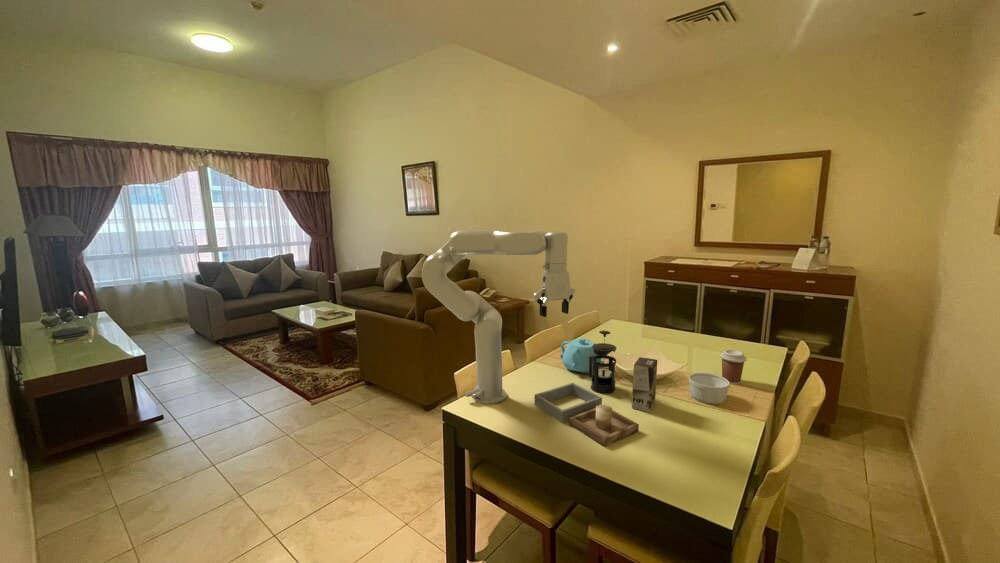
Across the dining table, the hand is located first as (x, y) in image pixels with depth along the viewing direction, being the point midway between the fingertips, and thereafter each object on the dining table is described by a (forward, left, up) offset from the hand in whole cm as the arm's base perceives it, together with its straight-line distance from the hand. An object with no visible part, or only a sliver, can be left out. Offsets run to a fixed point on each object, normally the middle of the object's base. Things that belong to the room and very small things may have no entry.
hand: (554, 314), depth 145 cm
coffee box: (+22, -22, -32) cm, 45 cm away
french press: (+20, -4, -32) cm, 38 cm away
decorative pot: (+27, +15, -32) cm, 45 cm away
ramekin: (+46, -31, -32) cm, 65 cm away
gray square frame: (-1, -8, -32) cm, 33 cm away
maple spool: (-1, -25, -31) cm, 40 cm away
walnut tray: (-1, -25, -32) cm, 41 cm away
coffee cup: (+67, -28, -32) cm, 80 cm away
